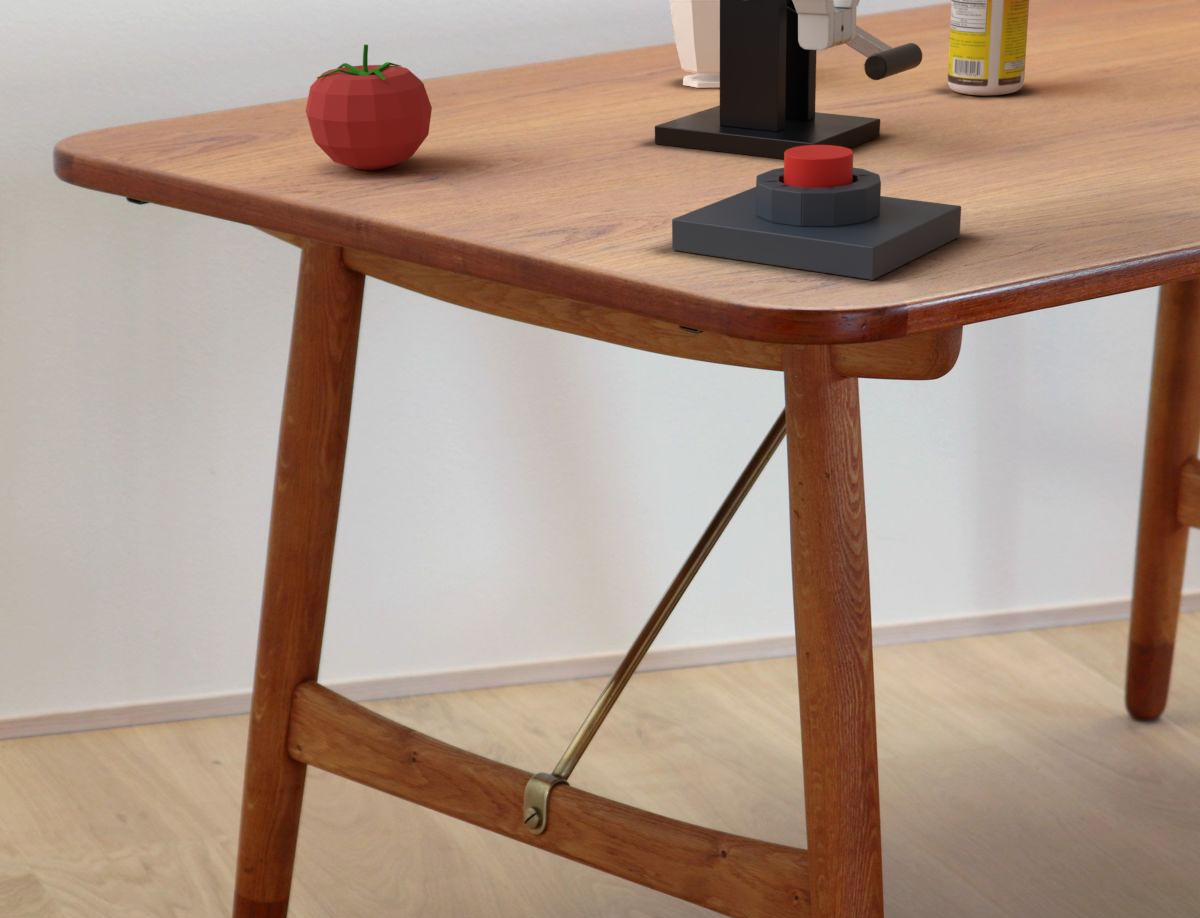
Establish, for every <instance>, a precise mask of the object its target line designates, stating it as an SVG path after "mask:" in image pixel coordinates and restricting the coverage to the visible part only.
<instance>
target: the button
mask: <svg viewBox="0 0 1200 918" xmlns="http://www.w3.org/2000/svg"><path fill="white" fill-rule="evenodd" d="M783 168H784V184H787V185H792V186H800V187H808V188H809V187H836V186H843V185H849V184H852V180H853V168H854V151H853V150H852V149H851V148H849V149H848V148H845V147H841V146H833V145H805V146H798V147H793V148H790V149H787V150H786V151H785V152H784V159H783Z"/></svg>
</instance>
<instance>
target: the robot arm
mask: <svg viewBox="0 0 1200 918" xmlns="http://www.w3.org/2000/svg"><path fill="white" fill-rule="evenodd" d="M792 1H793V4H794V6H795V9H796V11H797V13H798V42H799V44H800V46H801V47H802V48H803V49H808V50H817V51H826V50H828V49H831V48H834V47H838V46H841V45H846V44H845V43H848V42H851V41H852V40H854V38H855V36H856V26H857V9H858V8H857V7H858V6H859V4H860V1H861V0H792Z"/></svg>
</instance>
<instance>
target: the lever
mask: <svg viewBox="0 0 1200 918" xmlns="http://www.w3.org/2000/svg"><path fill="white" fill-rule="evenodd" d="M787 8H790V9H791V10H793V11H794V12H796V13H797V11H796V9H795V6H794V4H793V1H792V0H787ZM797 14H798V13H797ZM844 45H847V46H848V47H850V48H852V49H853V50H855V51H856V52H857V53H859V54H861V55H863V56H864V57H866V60H865V62H864V66H863V67H864V72H865V74H866V76H867V77H868V78H869V79H871V80H872V81H879V80H880V81H881V80H883V79H886V78H889V77H891V76H892V77H893V76H894V75H898V74H901V73H904V72H906V71H909V70H912V69H915V68H917V67H918V66H920V64H921V63H922V61H923V51H922V49H921V47H920V46H919V45H918V44H917V43H914V42H908V43H905V44H902V45H899V46H896V47H892V46H890V45H889V44H887V43H885V42H884V41H882V40H880V39H879V38H878V37H876V36H875V35H873V34H871V33H869V32H868V31H866V30H864V29H863V28H861V27H859V26H858V25H856V36H855V38H854V40H852V41H851V42H848V43H845V44H844Z"/></svg>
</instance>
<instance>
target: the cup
mask: <svg viewBox="0 0 1200 918" xmlns="http://www.w3.org/2000/svg"><path fill="white" fill-rule="evenodd" d="M668 1H669V7H670V13H671V23H672V28H673V37H674V43H675V47H676V52H677V55H678V60H679V64H680V68H681V70H682V71H684V72H686V73H691V74H689V75H684V76H683V79H682V85H683V86H687V87H690V88H691V87H692V88H696V89H697V88H699V89H703V88H705V89H706V88H707V89H709V88H710V89H711V88H719V89H720V0H668Z"/></svg>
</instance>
